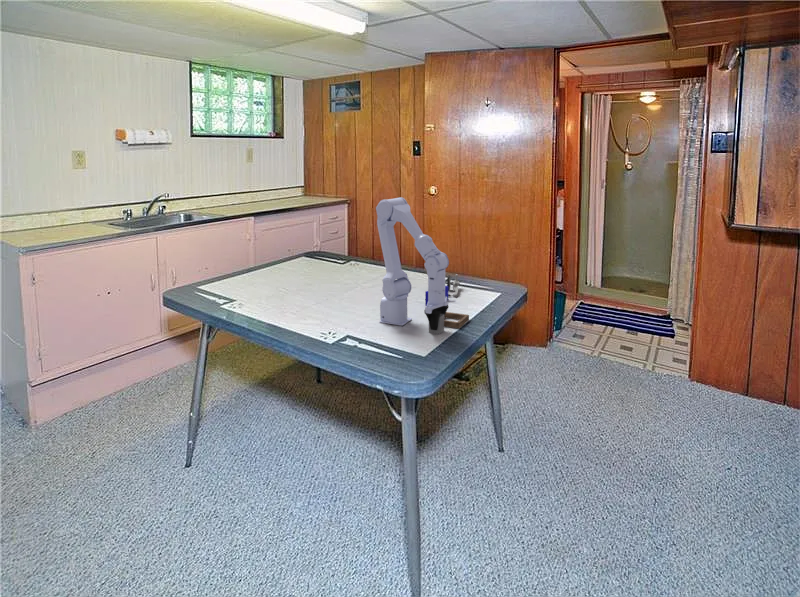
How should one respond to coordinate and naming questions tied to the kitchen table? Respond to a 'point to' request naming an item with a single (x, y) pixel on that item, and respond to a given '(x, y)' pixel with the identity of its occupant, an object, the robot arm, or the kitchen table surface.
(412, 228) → the robot arm
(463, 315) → the brown square frame
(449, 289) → the bike brake
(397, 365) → the kitchen table surface
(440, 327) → the grey block
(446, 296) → the cable clip
